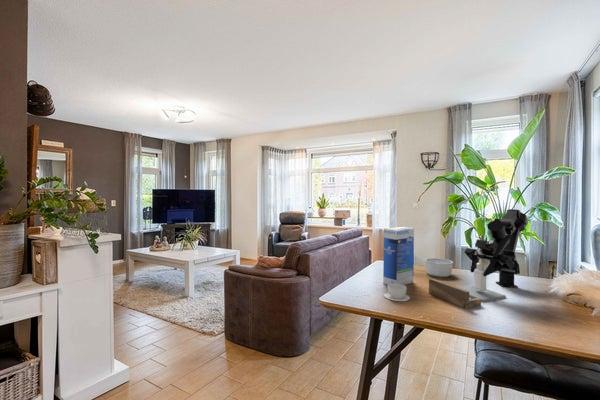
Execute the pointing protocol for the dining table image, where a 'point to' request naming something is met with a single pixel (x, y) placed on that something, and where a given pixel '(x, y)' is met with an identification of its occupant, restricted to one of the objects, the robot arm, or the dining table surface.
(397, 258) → the string lights box
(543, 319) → the dining table surface
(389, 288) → the teacup
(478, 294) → the grey mat
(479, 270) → the eye dropper bottle
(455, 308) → the dining table surface
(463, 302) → the walnut stand
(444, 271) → the ramekin
